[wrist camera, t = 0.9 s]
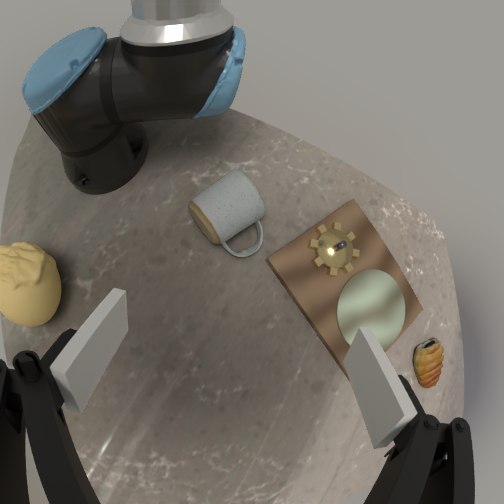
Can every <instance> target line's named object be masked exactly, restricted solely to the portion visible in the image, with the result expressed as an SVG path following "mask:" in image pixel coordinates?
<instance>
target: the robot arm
mask: <svg viewBox="0 0 504 504" xmlns="http://www.w3.org/2000/svg"><path fill="white" fill-rule="evenodd" d="M220 2H221V0H131V4H132V15H131V16H130V17H129V18H128V19H127V21H126V22H125V23H124V24H123V25H122V27H121V29H120V37H115V38H110V39H107V34H106V33H105V32H104V31H103V29H101V28H99V27H97V28H96V27H89V28H85V29H82V30H79V31H77V32H75V33H72V34H70V35H68V36H67V37H65V38H63V39H62V40H60V41H59V42H57V43H56V44H54V45H53V46H52V47H51V48H49V49H48V50H47V51H46V52H45V53H44V54H42V55H41V56H40V57H39V58H38V60H37V61H36V62H35V63H34V64H33V66H32V67H31V68H30V70H29V71H28V73H27V75H26V77H25V79H24V82H23V85H22V94H23V97H24V99H25V101H26V103H27V104H28V106H29V110H30V112H31V114H33V116H34V117H35V119H36V120H37V121H38V123H39V124H40V125H41V127H42V128H43V129H44V131H45V132H46V133H47V135H48V136H49V137H50V138H51V140H52V141H53V142H54V144H55V145H56V146H57V147H58V149H59V150H60V151H61V156H62V161H63V165H64V169H65V173H66V175H67V177H68V179H69V180H70V181H71V183H72V184H73V185H74V186H75V187H76V188H77V189H79V190H80V191H82V192H84V193H88V194H103V193H107V192H110V191H113V190H115V189H117V188H119V187H121V186H122V185H124V184H125V183H127V182H128V181H129V180H130V179H131V178H132V177H133V176H134V175H135V174H136V173H137V172H138V170H139V169H140V167H141V166H142V164H143V162H144V160H145V158H146V154H147V149H148V143H147V138H146V134H145V131H144V129H143V127H142V125H141V124H140V122H141V121H152V120H166V119H184V118H190V119H196V118H198V117H205V116H217V115H220V114H222V113H224V112H225V111H226V110H227V109H228V108H229V107H230V105H231V104H232V102H233V100H234V97H235V95H236V92H237V89H238V85H239V81H240V78H241V73H242V63H243V59H244V55H245V35H244V31H243V30H241V29H240V28H237V27H235V26H234V27H233V22H234V17H233V15H232V14H231V13H230V12H229V11H228V10H227V9H225V8H224V7H223V6H222V5H221V4H220ZM127 332H128V318H127V301H126V291H125V290H121V289H117V288H113V289H112V291H111V292H110V293H109V294H108V295H107V296H106V297H105V299H104V300H103V301H102V302H101V303H100V304H99V305H98V307H97V308H96V309H95V310H94V311H93V313H92V314H91V315H90V316H89V317H88V319H87V320H86V321H85V322H84V323H83V325H82V326H81V327H80V328H79V330H78V331H76V330H74V329H71V328H70V329H69V330H67V331H65V332H63V333H62V334H61V335H60V336H59V338H58V339H57V341H55V342H54V344H53V345H52V346H51V347H50V349H49V350H48V351H47V352H46V354H45V355H44V356H43V357H42V359H41V360H40V359H39V356H38V355H37V354H36V353H35V352H33V351H22V352H19V353H18V354H17V355H16V356H15V357H14V359H13V363H12V364H13V366H14V368H15V370H14V369H9V368H8V367H7V366H6V363H5V362H4V361H3V360H2V359H0V504H30V502H29V495H28V487H27V476H26V458H25V433H26V429H27V433H28V438H29V442H30V446H31V450H32V454H33V457H34V461H35V464H36V468H37V471H38V474H39V477H40V480H41V483H42V485H43V488H44V491H45V494H46V496H47V499H48V501H49V503H50V504H101V503H100V502H99V500H98V498H97V496H96V494H95V492H94V490H93V488H92V486H91V484H90V482H89V480H88V478H87V476H86V473H85V471H84V469H83V467H82V464H81V462H80V459H79V457H78V454H77V452H76V449H75V447H74V444H73V441H72V438H71V436H70V433H69V430H68V427H67V423H66V420H65V417H64V414H63V410H62V408H61V406H62V404H63V403H64V402H65V404H66V406H67V408H68V409H70V410H72V411H74V412H76V413H79V414H81V415H82V414H83V412H84V410H85V408H86V406H87V404H88V402H89V400H90V398H91V396H92V394H93V392H94V391H95V389H96V387H97V385H98V383H99V381H100V379H101V378H102V376H103V374H104V372H105V370H106V368H107V367H108V365H109V363H110V361H111V360H112V358H113V356H114V354H115V353H116V351H117V349H118V347H119V346H120V344H121V342H122V341H123V339H124V337H125V336H126V334H127ZM343 364H344V367H345V369H346V372H347V374H348V377H349V380H350V382H351V385H352V388H353V390H354V393H355V396H356V399H357V401H358V404H359V407H360V410H361V412H362V415H363V418H364V421H365V424H366V427H367V430H368V433H369V435H370V438H371V441H372V444H373V447H374V449H376V448H382V447H387V446H388V445H389V444H390V443H391V442H392V441H393V440H394V443H395V445H394V446H393V447H392V448H391V449H390V450H389V451H388V452H387V453H386V454H385V456H384V457H386V456H387V455H389V456H388V458H387V460H386V462H385V465H384V467H383V469H382V471H381V473H380V475H379V477H378V479H377V481H376V482H375V484H374V486H373V488H372V490H371V492H370V493H369V495H368V497H367V499H366V500H365V502H364V504H474V501H475V482H474V481H475V479H474V461H473V450H472V440H471V432H470V427H469V424H468V423H467V421H466V420H464V419H463V418H460V417H458V418H455V419H453V420H452V422H451V423H450V424H445V423H440V422H439V421H438V419H437V418H436V417H434V416H433V415H429V414H425V412H424V410H423V408H422V406H421V404H420V402H419V400H418V399H417V397H416V395H415V393H414V391H413V389H412V388H411V386H410V384H409V382H408V381H407V380H406V379H405V378H404V377H403V376H402V375H397V373H396V372H395V370H394V368H393V366H392V364H391V363H390V361H389V359H388V357H387V356H386V354H385V352H384V350H383V349H382V347H381V345H380V344H379V342H378V340H377V338H376V337H375V335H374V333H373V332H372V330H371V328H367V327H359V328H358V331H357V333H356V335H355V337H354V340H353V342H352V344H351V346H350V348H349V350H348V352H347V354H346V356H345V358H344V360H343ZM446 455H447V460H446Z"/></svg>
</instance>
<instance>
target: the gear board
mask: <svg viewBox="0 0 504 504" xmlns="http://www.w3.org/2000/svg"><path fill="white" fill-rule="evenodd" d="M334 222H337V223H341V231H342V232H344V233H345V234H346V235H347V234H348V233H350V232H351V231H352V232H353V234H354V235H355V238H354V239H353V240H352V241H351V242H352V245H353V249H357V250H360V251H359V257H358V258H356V259H354V258H352V259H351V261H350V263H351V265H352V266H353V268H354V269H353V270H351V271H350V272H349V273H347V274H345V273H344V272H343V270H342V269H341V268H339V269H338V271H337V276H335V277H331V276H327V269H328V268H327V267H325V266H323V265H322V264H321V265H320V266H319V267H317V268H315V267H314V265H313V264H312V261H313V260H314V259H316V258H317V256H316V253H315V250H314V249H309V248H308V241H309V240H310V239H315V240H317V239H318V237H319V235H318V234H317V233H316V231H315V229H316V228H318V227H319V226H320V225H322V224H323V225H324V226H325V227H326V229H327V230H330V229H331V224H333V223H334ZM266 262H267V263H268V265H269V266H270V268H271V269H272V270H273V272H274V273H275V275H276V276H277V277H278V279H279V280H280V282H281V283H282V285H283V286H284V287H285V289H286V290H287V292H288V293H289V295H290V296H291V297H292V299H293V300H294V302H295V303H296V305H297V306H298V307H299V309H300V310H301V312H302V313H303V315H304V316H305V318H306V319H307V320H308V322H309V323H310V325H311V326H312V328H313V329H314V330H315V332H316V333H317V335H318V336H319V338H320V339H321V341H322V342H323V343H324V345H325V346H326V348H327V349H328V351H329V352H330V354H331V355H332V356H333V358H334V359H335V361H336V362H337V364H338V365H339V367H340V368H341V369H342V371H343V372H344V374H345V375H346V377H347V378H348V380H349V377H348V374H347V372H346V369H345V367H344V364H343V360H344V358H345V356H346V354H347V352H348V350H349V348H350V346H351V344H352V342H353V340H354V337H355V335H356V333H357V331H358V328H359V327H367V328H371V330H372V332H373V333H374V335H375V337H376V338H377V340H378V342H379V344H380V345H381V347H382V349H383V350H384V352H386V351H387V350H388V349H389V348H390V347H391V346H392V345H393V343H394V342H395V341H396V340H397V339H398V338H399V337H400V336H401V335H402V334H403V332H404V331H405V330H406V329H407V328H408V327H409V325H410V324H411V323H412V322H413V321H414V320H415V318H416V317H417V316H418V315H419V313H420V312H421V311H422V310H423V308H422V306H421V304H420V303H419V301H418V299H417V297H416V295H415V293H414V292H413V290H412V288H411V286H410V285H409V283H408V281H407V279H406V278H405V276H404V274H403V272H402V271H401V269H400V267H399V266H398V264H397V263H396V261H395V259H394V258H393V256H392V254H391V253H390V251H389V250H388V248H387V247H386V245H385V243H384V242H383V240H382V239H381V237H380V236H379V234H378V233H377V231H376V230H375V228H374V227H373V225H372V224H371V222H370V221H369V220H368V218H367V217H366V215H365V214H364V212H363V211H362V210H361V208H360V207H359V205H358V204H357V203H356V201H355V200H354V199H352V200H351V201H349V202H348V203H347V204H345V205H344V206H342V207H341V208H339V209H338V210H337V211H335V212H334V213H332V214H331V215H329V216H328V217H327V218H325V219H324V220H322V221H321V222H319V223H318V224H317V225H315V226H314V227H312V228H311V229H309V230H308V231H307V232H305V233H304V234H302V235H301V236H299V237H298V238H296V239H295V240H294V241H292V242H291V243H289V244H288V245H286V246H285V247H283V248H282V249H280V250H279V251H278V252H276V253H275V254H273V255H272V256H270V257H269V258H267V259H266ZM349 381H350V380H349Z"/></svg>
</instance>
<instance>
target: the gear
mask: <svg viewBox="0 0 504 504" xmlns="http://www.w3.org/2000/svg"><path fill="white" fill-rule="evenodd" d="M315 231H316V233H317V234H318V235H319V237H318V239H317V240H315V239H310V240H309V241H308V248H309V249H314V250H315V253H316V256H317V258H316V259H314V260H313V261H312V264H313V265H314V267H315V268H317V267H319V266H320V265H321V264H322V265H323V266H325V267H327V268H328V269H327V276H331V277H335V276H337V271H338V269H339V268H341V269H342V270H343V272H344V273H345V274H347V273H349V272H350V271H351V270H353V269H354V268H353V266H352V265H351V263H350V261H351V259H352V258H354V259H356V258H358V257H359V251H360V250H357V249H353V245H352V242H351V241H352V240H353V239H354V238H355V235H354V234H353V232H352V231H351V232H350V233H348V234H347V235H346V234H345V233H344V232H342V231H341V223H337V222H334V223H333V224H331V229H330V230H327V229H326V227H325V226H324V225H323V224H322V225H320V226H319V227H318V228H316V229H315Z"/></svg>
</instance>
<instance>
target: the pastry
mask: <svg viewBox="0 0 504 504" xmlns="http://www.w3.org/2000/svg"><path fill="white" fill-rule="evenodd" d="M440 344H441V342H440V341H439V340H438V339H437V338H434V339H432V340H427V341H426V342H425V343H424V344H420V345H419V346H418V347H417V348H416V351H415V353H414V358H413V361H414V369H415V372H416V375H417V378H418V381H419V383H420V385H421V386H422V387H424V388H430V387H432V386H435V385H436V383H437V381H438V380H439V376H440V374H441V368H442V367H443V363H442V361H443V359H444V356H443V355H442V353H443V347H442V346H441V345H440Z"/></svg>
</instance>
